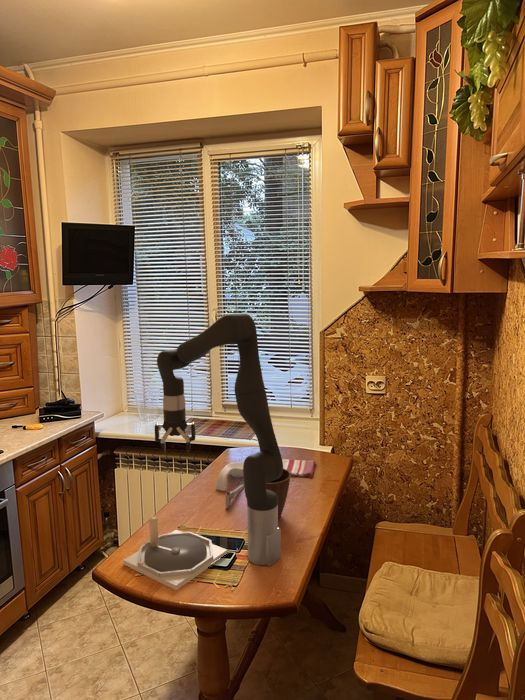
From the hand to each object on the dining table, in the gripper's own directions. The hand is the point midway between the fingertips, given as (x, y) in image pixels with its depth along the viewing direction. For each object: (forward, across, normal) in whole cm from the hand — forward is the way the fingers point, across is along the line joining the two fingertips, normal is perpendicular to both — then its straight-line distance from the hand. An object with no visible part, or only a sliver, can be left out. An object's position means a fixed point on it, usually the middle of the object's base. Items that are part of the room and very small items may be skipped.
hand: (176, 452), depth 180 cm
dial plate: (+24, +2, -28) cm, 37 cm away
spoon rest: (+24, +20, +31) cm, 44 cm away
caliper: (+24, +21, +14) cm, 35 cm away
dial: (+22, +2, -28) cm, 36 cm away
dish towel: (+25, +44, +40) cm, 64 cm away
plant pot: (+24, +32, -4) cm, 40 cm away
